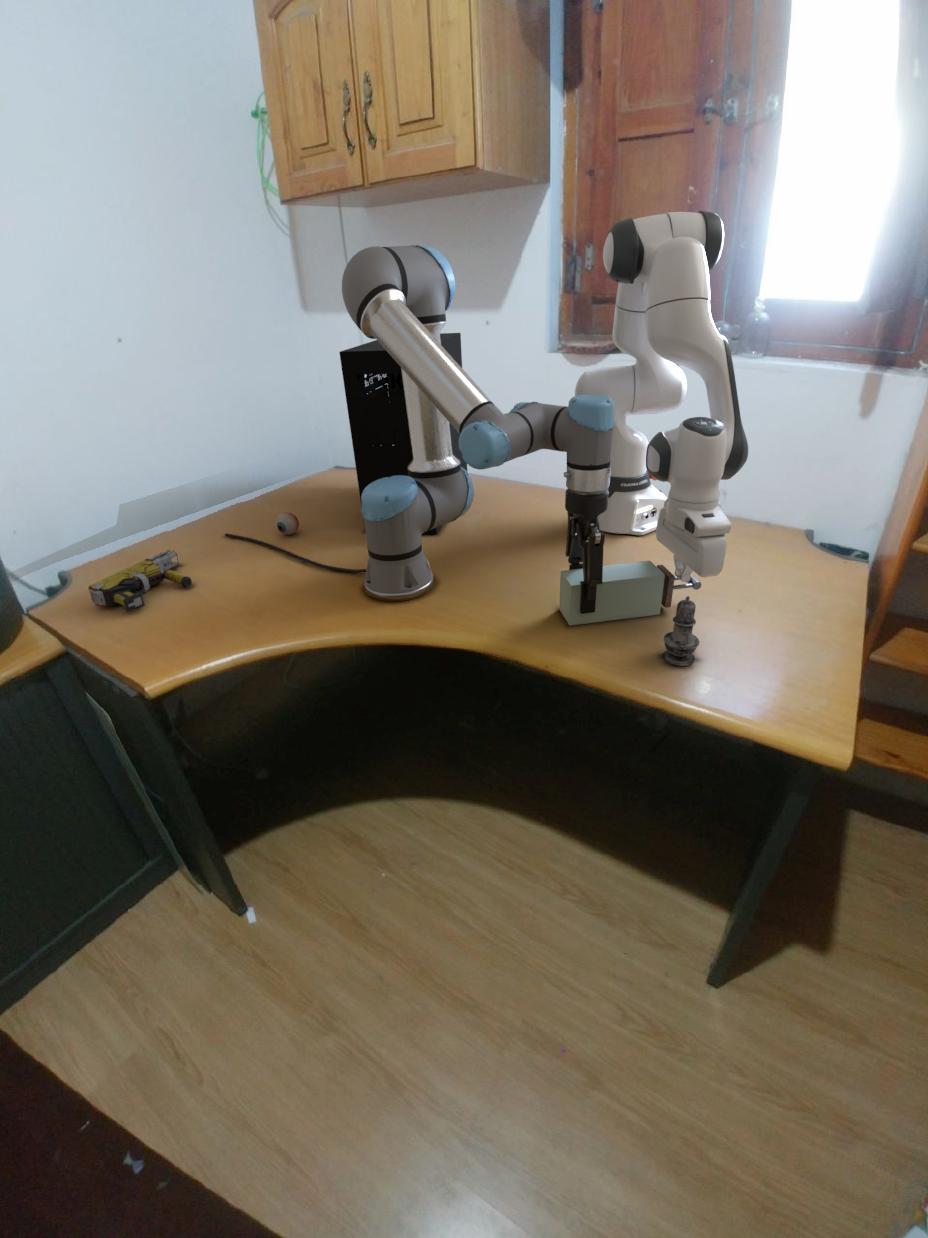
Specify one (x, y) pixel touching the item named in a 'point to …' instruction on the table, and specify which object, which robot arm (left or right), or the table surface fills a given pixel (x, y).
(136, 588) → the toy gun
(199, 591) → the table surface
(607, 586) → the cabinet
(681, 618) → the salt shaker
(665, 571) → the drawer
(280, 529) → the eyeball
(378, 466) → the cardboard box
